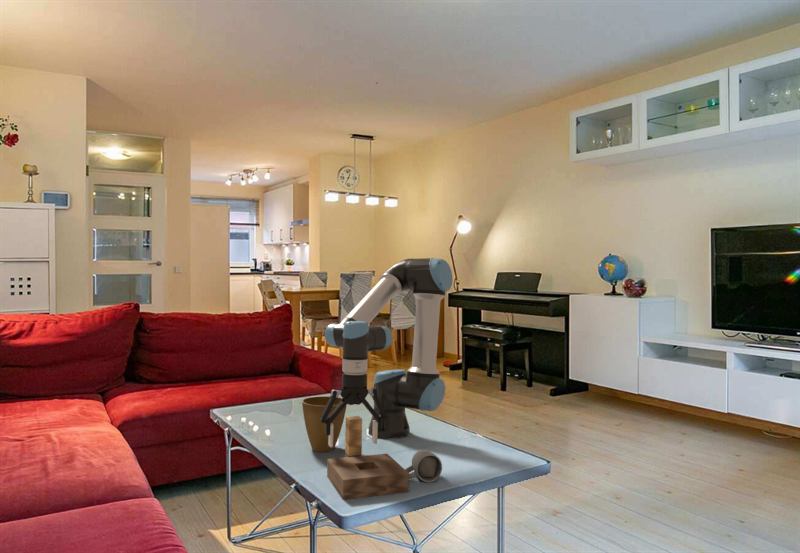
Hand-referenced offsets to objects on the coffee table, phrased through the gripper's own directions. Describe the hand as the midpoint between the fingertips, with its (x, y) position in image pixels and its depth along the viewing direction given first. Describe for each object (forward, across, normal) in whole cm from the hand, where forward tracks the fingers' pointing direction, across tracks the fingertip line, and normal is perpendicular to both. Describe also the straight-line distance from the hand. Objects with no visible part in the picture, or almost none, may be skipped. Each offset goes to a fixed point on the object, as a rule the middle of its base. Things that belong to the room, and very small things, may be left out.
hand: (352, 444), depth 171 cm
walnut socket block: (+7, 0, -14) cm, 16 cm away
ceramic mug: (+7, +17, -14) cm, 23 cm away
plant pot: (+7, -4, +22) cm, 24 cm away
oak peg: (+7, 0, 0) cm, 7 cm away
